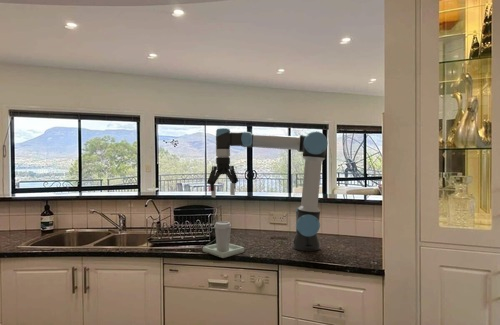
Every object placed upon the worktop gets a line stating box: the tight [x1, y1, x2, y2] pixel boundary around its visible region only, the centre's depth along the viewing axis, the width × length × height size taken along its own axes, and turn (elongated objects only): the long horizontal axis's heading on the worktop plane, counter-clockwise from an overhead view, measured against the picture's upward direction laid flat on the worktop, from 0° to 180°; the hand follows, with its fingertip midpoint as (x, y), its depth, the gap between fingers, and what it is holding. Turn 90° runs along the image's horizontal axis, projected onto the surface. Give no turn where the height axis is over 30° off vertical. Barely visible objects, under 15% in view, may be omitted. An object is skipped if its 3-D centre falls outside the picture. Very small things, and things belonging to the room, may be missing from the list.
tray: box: [202, 243, 245, 259], centre depth 176 cm, size 17×15×2 cm
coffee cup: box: [213, 221, 233, 252], centre depth 176 cm, size 10×10×15 cm
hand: (223, 196), depth 176 cm, fingers open, 13 cm apart
